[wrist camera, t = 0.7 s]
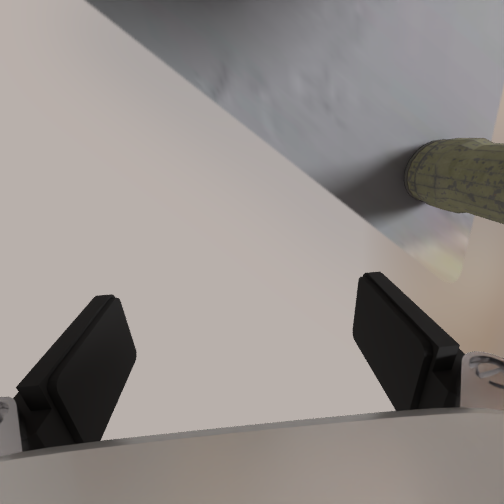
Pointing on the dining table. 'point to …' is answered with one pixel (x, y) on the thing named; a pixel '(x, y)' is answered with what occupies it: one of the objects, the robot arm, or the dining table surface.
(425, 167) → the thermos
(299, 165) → the dining table surface
